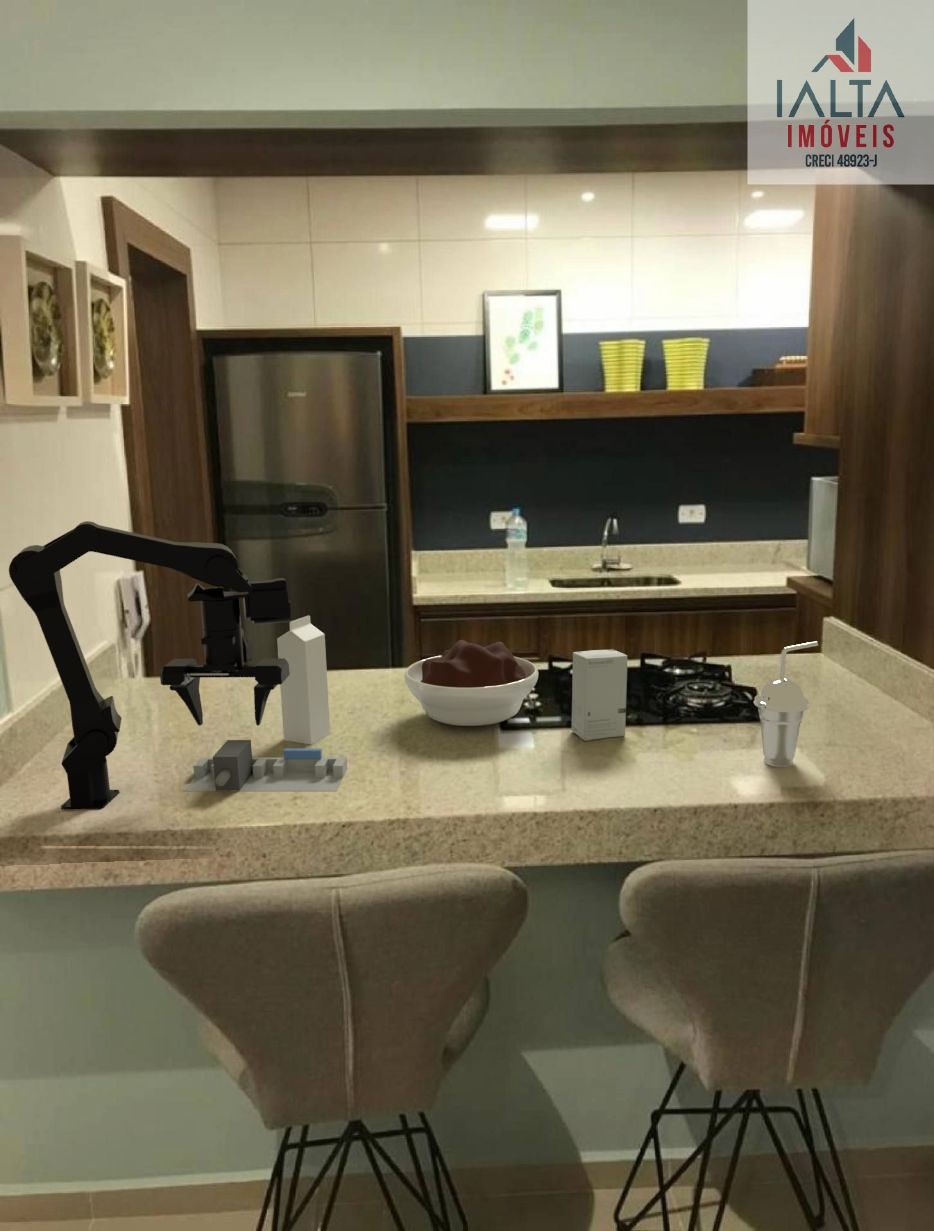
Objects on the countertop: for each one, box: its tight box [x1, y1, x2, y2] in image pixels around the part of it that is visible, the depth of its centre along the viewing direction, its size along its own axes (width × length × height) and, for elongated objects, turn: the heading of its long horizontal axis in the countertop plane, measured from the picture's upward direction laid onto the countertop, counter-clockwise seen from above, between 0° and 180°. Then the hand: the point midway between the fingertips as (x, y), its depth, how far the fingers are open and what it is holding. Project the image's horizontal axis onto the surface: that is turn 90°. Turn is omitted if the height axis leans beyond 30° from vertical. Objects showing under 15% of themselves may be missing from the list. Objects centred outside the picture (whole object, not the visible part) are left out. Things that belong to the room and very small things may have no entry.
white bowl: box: [403, 639, 539, 727], centre depth 176 cm, size 25×25×15 cm
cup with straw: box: [753, 640, 819, 768], centre depth 150 cm, size 8×9×20 cm
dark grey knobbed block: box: [212, 739, 253, 790], centre depth 147 cm, size 10×4×6 cm, turn 177°
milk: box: [276, 614, 331, 745], centre depth 167 cm, size 6×6×22 cm
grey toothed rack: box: [182, 747, 348, 792], centre depth 149 cm, size 9×24×4 cm, turn 87°
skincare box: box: [571, 649, 628, 742], centre depth 166 cm, size 8×6×15 cm
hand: (229, 724), depth 147 cm, fingers open, 9 cm apart
